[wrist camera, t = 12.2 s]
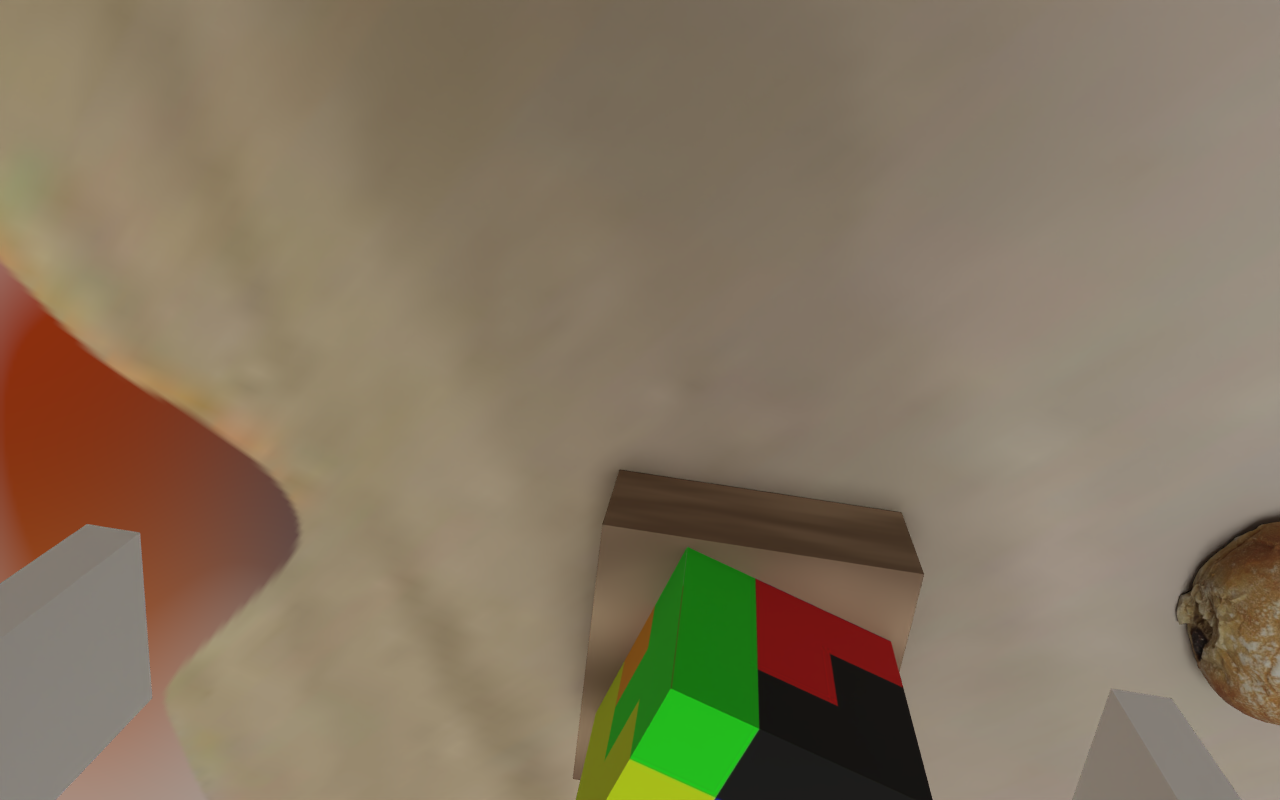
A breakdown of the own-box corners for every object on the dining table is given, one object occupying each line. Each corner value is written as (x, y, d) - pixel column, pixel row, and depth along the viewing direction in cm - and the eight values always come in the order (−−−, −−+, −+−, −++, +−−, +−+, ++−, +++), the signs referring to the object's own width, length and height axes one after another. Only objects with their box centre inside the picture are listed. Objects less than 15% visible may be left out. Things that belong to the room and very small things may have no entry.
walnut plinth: (619, 469, 46) (602, 524, 41) (901, 512, 45) (924, 574, 40) (591, 701, 51) (572, 778, 45) (846, 743, 50) (859, 828, 45)
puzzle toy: (784, 798, 44) (796, 992, 35) (595, 713, 44) (555, 886, 35) (890, 641, 41) (935, 808, 32) (687, 546, 41) (670, 688, 31)
